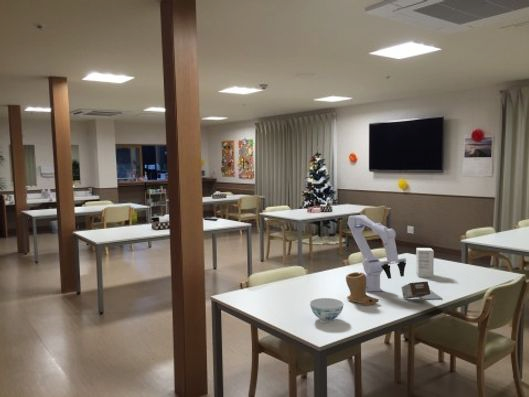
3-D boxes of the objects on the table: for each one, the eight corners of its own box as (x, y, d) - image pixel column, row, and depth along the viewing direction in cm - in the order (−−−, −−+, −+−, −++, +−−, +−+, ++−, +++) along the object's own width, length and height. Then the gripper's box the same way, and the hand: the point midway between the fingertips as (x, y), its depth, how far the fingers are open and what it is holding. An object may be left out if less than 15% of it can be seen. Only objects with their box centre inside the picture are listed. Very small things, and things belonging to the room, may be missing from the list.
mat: (421, 299, 223) (421, 298, 223) (407, 289, 243) (407, 288, 243) (442, 299, 223) (442, 298, 223) (426, 288, 243) (426, 287, 243)
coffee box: (418, 285, 227) (428, 280, 212) (420, 297, 225) (431, 294, 210) (400, 286, 227) (409, 282, 212) (403, 299, 225) (412, 296, 210)
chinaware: (309, 325, 190) (309, 307, 190) (310, 313, 205) (310, 297, 204) (344, 326, 188) (343, 308, 187) (343, 314, 202) (343, 298, 202)
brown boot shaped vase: (341, 300, 224) (340, 272, 223) (358, 296, 230) (358, 268, 229) (362, 308, 211) (362, 278, 210) (379, 304, 217) (379, 274, 216)
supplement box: (433, 277, 266) (434, 250, 265) (418, 277, 268) (418, 250, 267) (431, 274, 276) (431, 247, 274) (415, 273, 277) (416, 247, 276)
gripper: (382, 252, 224) (387, 279, 222) (407, 249, 228) (412, 275, 225) (376, 253, 230) (380, 279, 228) (400, 250, 234) (404, 275, 232)
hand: (396, 277), depth 227 cm, fingers open, 7 cm apart
